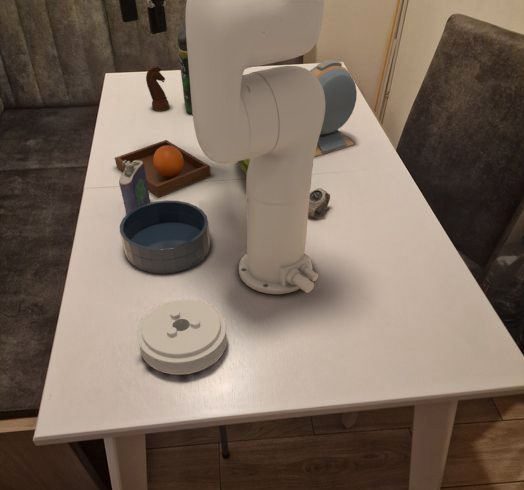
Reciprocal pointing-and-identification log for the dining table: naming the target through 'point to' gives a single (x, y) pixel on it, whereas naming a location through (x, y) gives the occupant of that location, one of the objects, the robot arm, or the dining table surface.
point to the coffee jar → (184, 68)
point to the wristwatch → (318, 202)
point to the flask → (134, 185)
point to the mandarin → (168, 161)
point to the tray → (156, 182)
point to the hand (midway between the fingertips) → (144, 26)
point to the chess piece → (156, 89)
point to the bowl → (165, 236)
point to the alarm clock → (335, 104)
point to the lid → (182, 336)
